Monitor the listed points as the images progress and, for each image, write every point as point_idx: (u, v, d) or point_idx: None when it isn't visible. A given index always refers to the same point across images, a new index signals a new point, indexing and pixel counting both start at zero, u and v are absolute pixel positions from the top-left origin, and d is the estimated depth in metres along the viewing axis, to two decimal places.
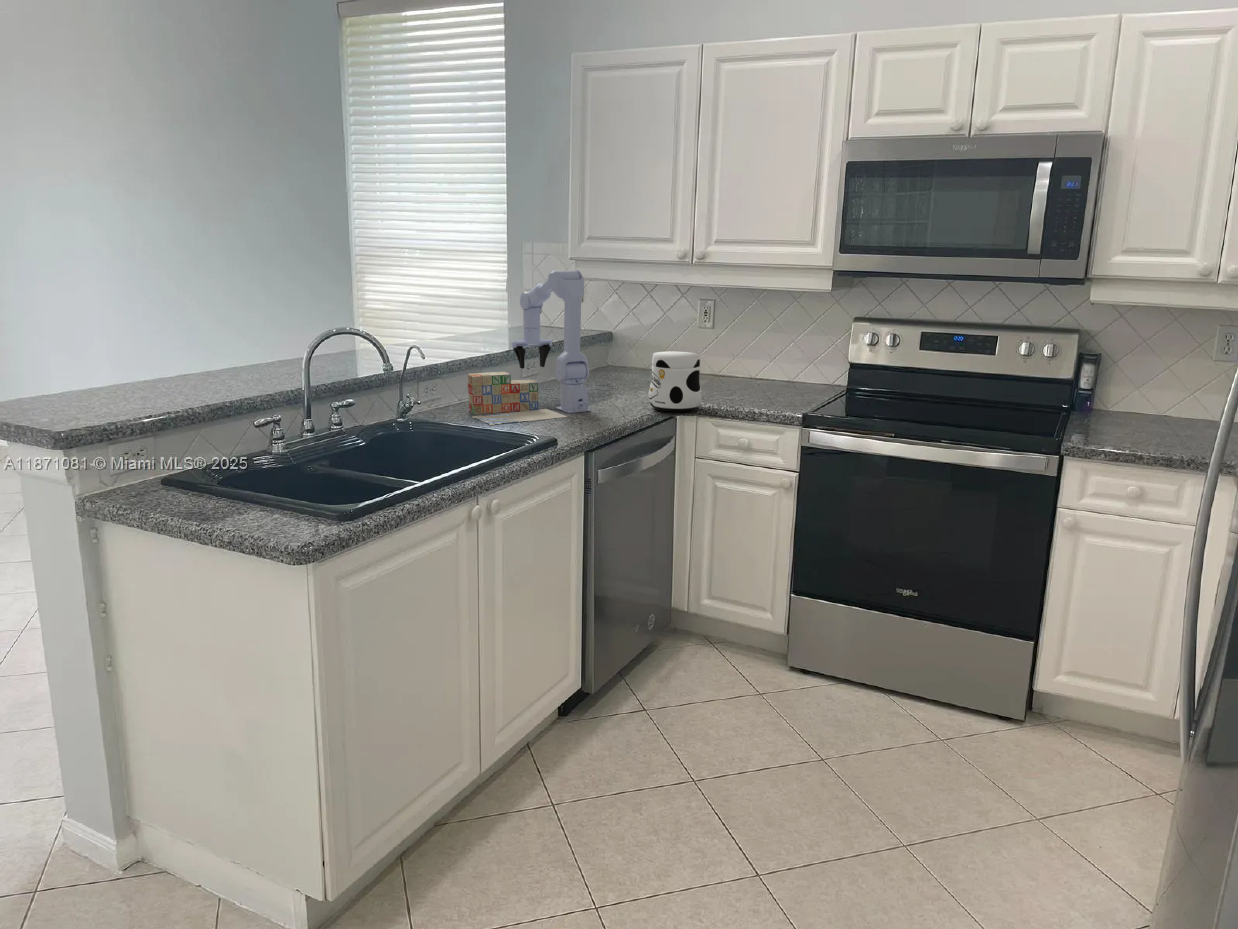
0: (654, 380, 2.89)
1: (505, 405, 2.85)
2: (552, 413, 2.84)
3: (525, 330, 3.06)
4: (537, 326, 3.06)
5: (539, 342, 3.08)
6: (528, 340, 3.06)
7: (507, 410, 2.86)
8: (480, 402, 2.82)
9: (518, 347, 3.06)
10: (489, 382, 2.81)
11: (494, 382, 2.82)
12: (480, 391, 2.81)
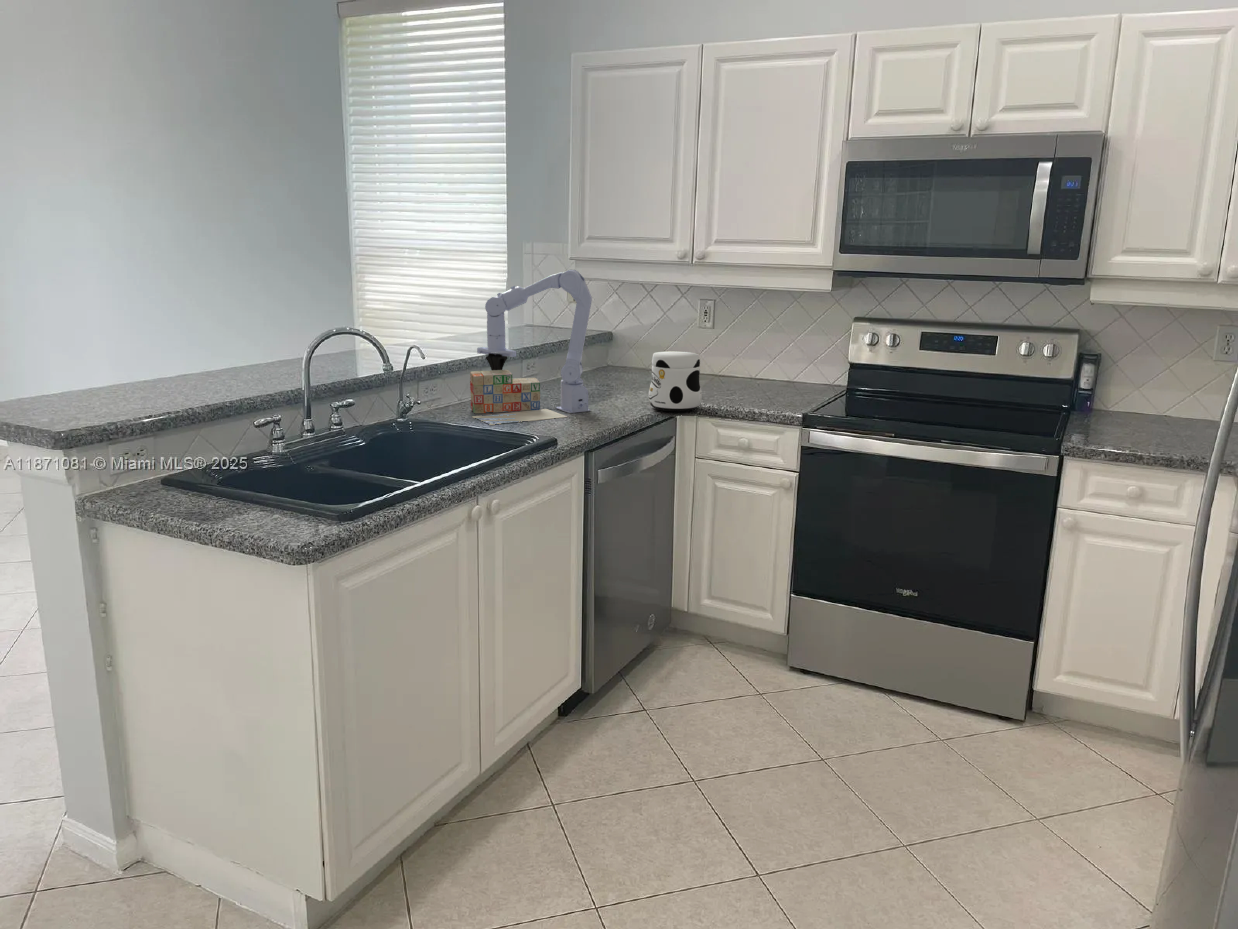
0: (654, 380, 2.89)
1: (506, 405, 2.86)
2: (552, 413, 2.84)
3: None
4: None
5: (494, 351, 2.84)
6: (487, 347, 2.87)
7: (508, 409, 2.86)
8: (481, 401, 2.83)
9: (481, 353, 2.90)
10: (490, 382, 2.81)
11: (495, 382, 2.82)
12: (481, 390, 2.81)
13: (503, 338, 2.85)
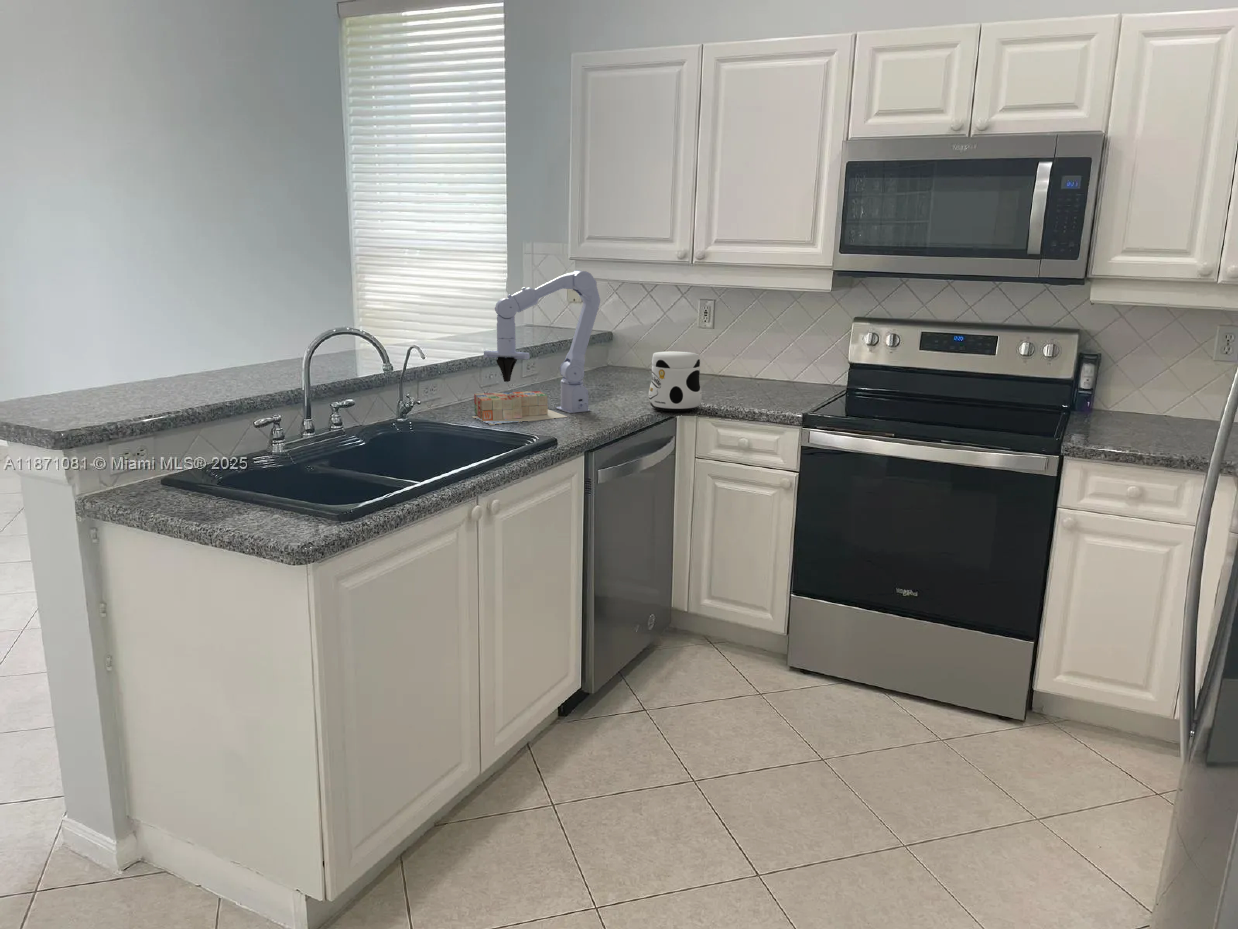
0: (654, 380, 2.89)
1: None
2: (552, 413, 2.84)
3: (497, 340, 2.80)
4: None
5: (508, 354, 2.78)
6: (497, 351, 2.80)
7: None
8: None
9: None
10: None
11: None
12: None
13: (514, 340, 2.80)
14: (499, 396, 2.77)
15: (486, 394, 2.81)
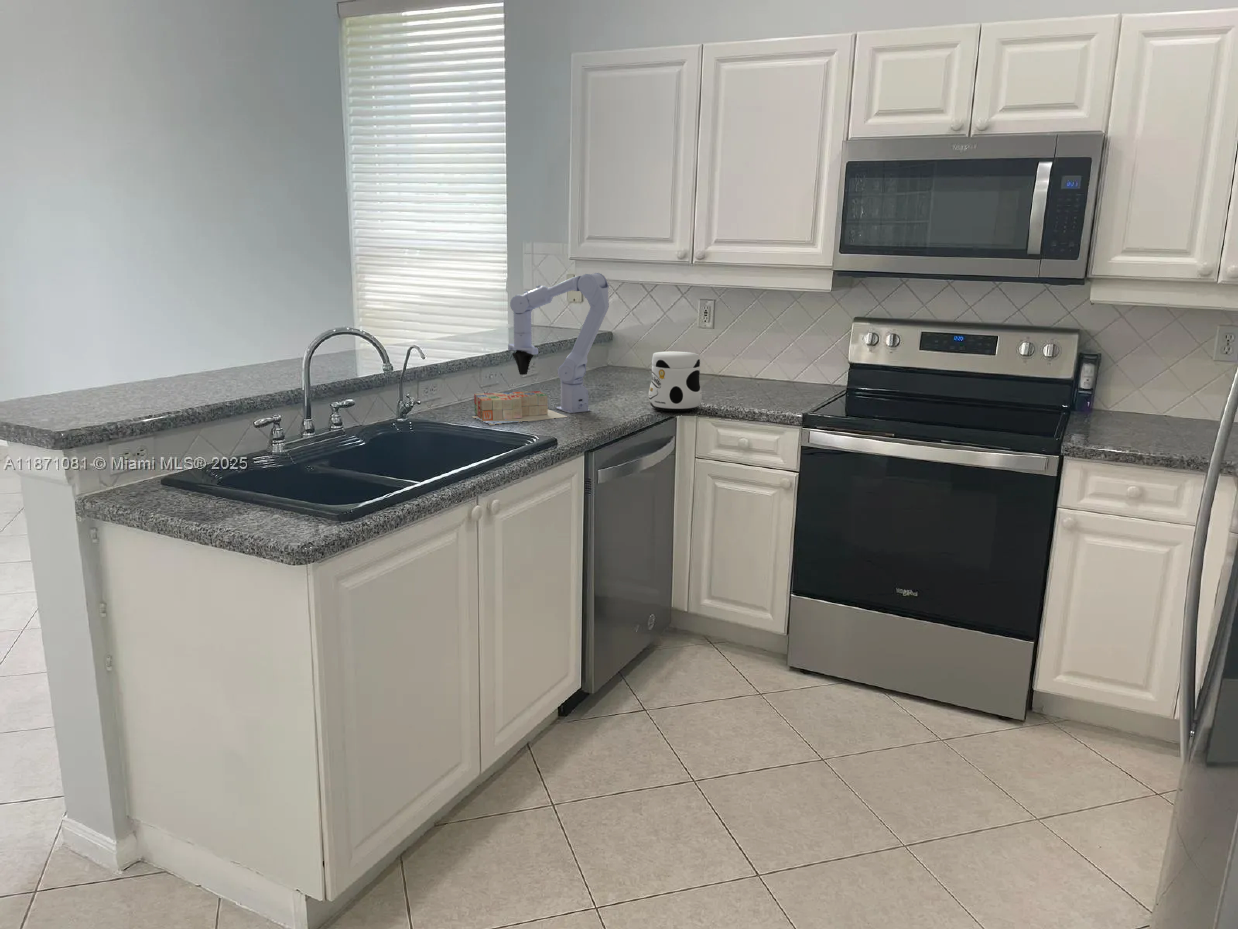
0: (654, 380, 2.89)
1: None
2: (552, 413, 2.84)
3: None
4: None
5: (518, 348, 2.89)
6: None
7: None
8: None
9: None
10: None
11: None
12: None
13: (528, 335, 2.89)
14: (499, 396, 2.77)
15: (486, 394, 2.81)
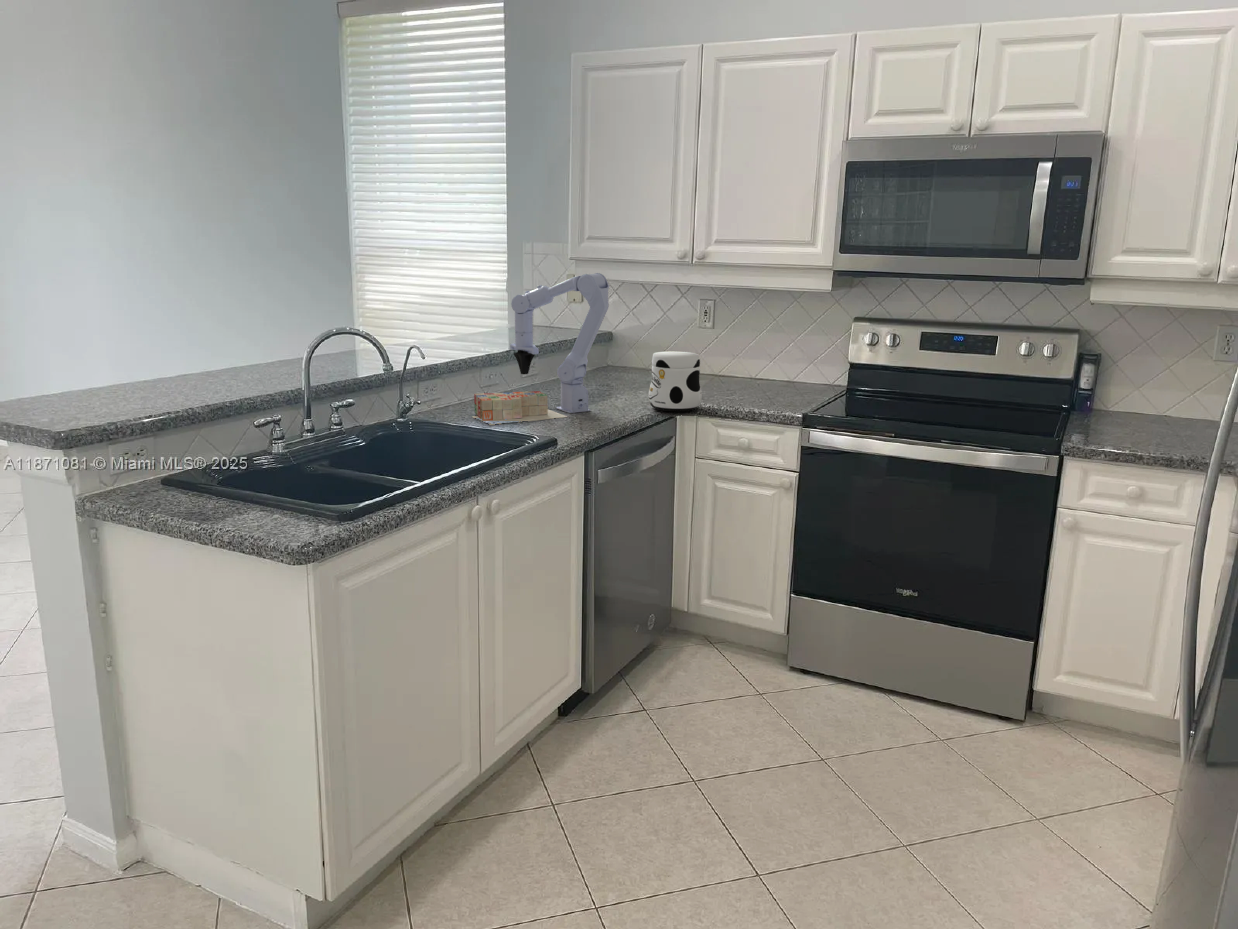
0: (654, 380, 2.89)
1: None
2: (552, 413, 2.84)
3: None
4: (532, 330, 2.91)
5: (519, 348, 2.90)
6: None
7: None
8: None
9: None
10: None
11: None
12: None
13: (529, 335, 2.90)
14: (499, 396, 2.77)
15: (486, 394, 2.81)
